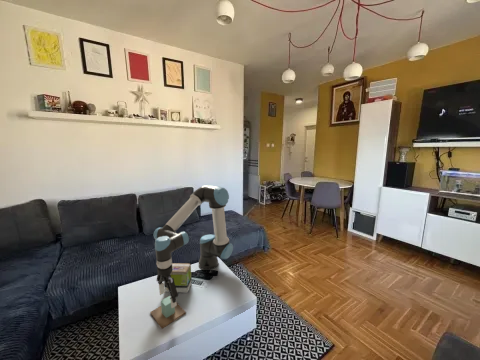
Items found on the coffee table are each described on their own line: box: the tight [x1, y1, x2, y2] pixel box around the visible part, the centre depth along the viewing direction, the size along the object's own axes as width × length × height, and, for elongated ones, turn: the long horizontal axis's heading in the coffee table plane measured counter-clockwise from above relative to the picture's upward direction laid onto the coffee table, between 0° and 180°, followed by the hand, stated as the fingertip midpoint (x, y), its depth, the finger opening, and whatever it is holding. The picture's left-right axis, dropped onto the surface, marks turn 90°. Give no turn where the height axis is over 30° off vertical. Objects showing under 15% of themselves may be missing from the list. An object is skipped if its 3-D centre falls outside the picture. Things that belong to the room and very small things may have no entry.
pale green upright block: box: [160, 295, 175, 318], centre depth 115 cm, size 5×5×8 cm
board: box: [150, 301, 187, 330], centre depth 116 cm, size 14×14×1 cm
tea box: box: [164, 262, 193, 294], centre depth 136 cm, size 15×10×15 cm, turn 87°
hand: (167, 299), depth 116 cm, fingers open, 13 cm apart
